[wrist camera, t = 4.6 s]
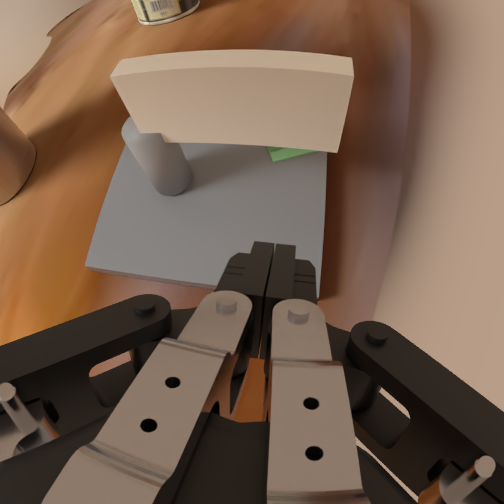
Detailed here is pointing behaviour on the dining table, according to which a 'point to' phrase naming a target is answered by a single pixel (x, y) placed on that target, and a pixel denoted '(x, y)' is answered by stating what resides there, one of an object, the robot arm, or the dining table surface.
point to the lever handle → (229, 104)
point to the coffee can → (163, 10)
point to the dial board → (211, 213)
